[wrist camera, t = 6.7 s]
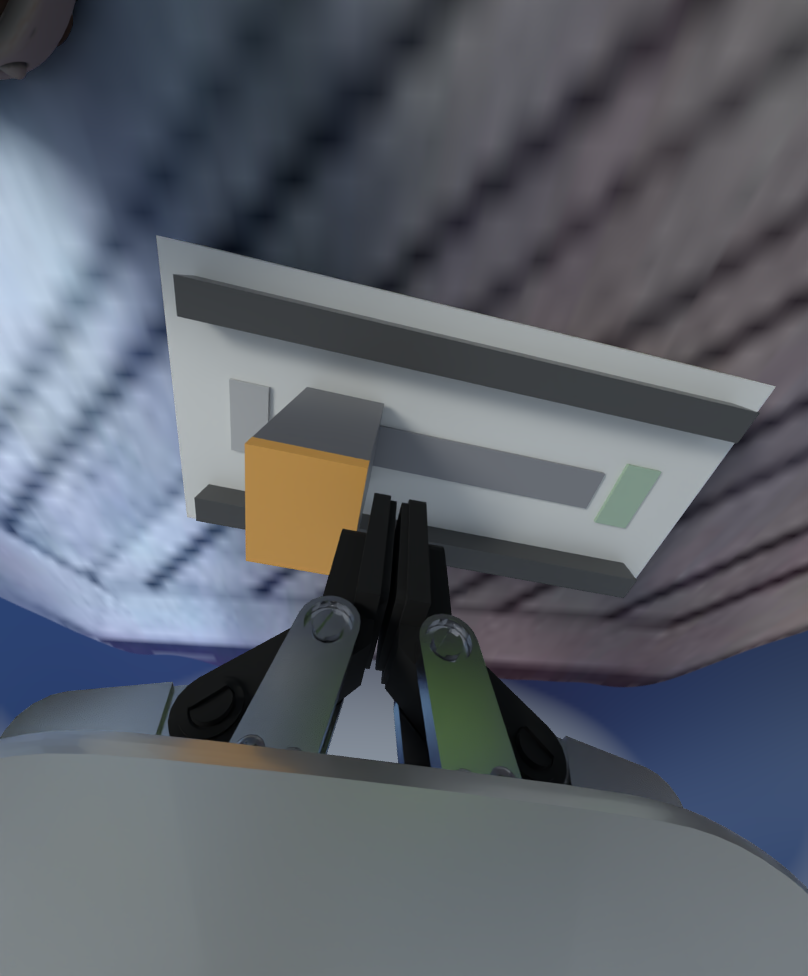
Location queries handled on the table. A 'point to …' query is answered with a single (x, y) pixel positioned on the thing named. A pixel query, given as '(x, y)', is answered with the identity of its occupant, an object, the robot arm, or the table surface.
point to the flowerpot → (31, 33)
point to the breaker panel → (450, 415)
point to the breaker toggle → (309, 478)
